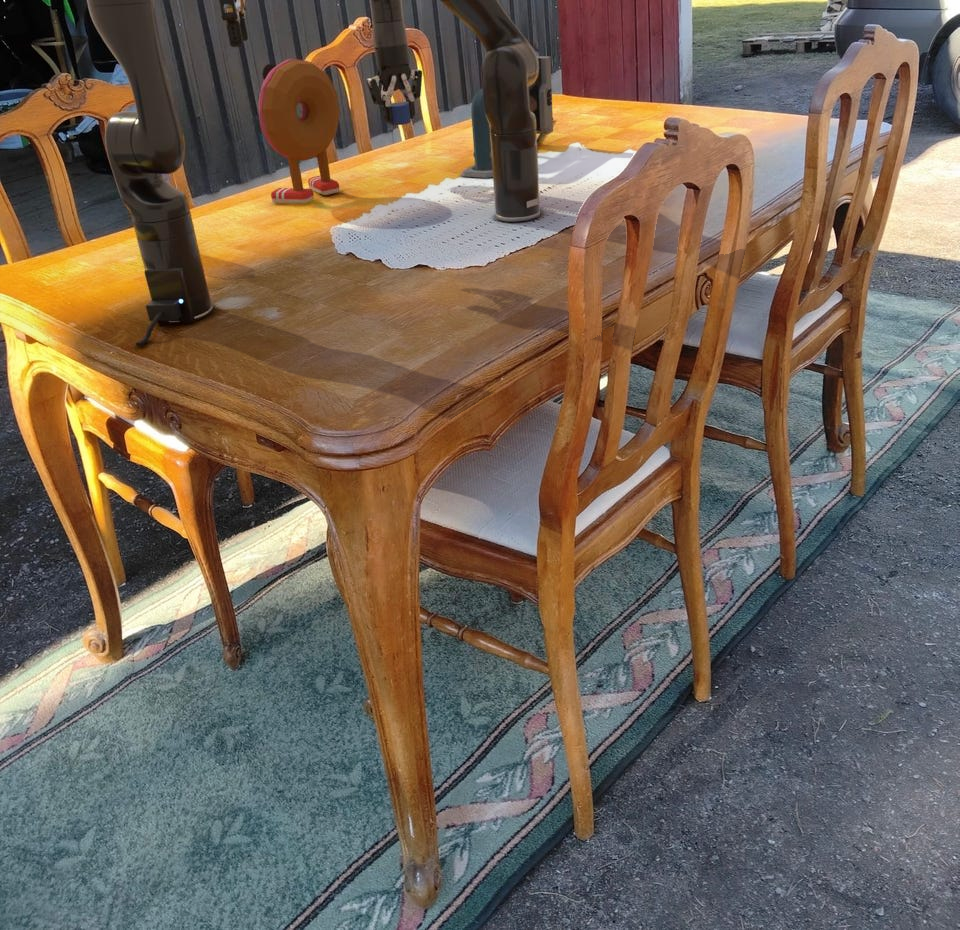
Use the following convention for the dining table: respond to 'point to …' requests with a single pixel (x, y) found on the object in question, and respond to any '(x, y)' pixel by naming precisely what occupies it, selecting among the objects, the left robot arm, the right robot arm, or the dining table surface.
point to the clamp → (537, 104)
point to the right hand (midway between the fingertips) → (399, 120)
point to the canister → (400, 113)
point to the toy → (299, 124)
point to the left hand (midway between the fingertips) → (239, 43)
